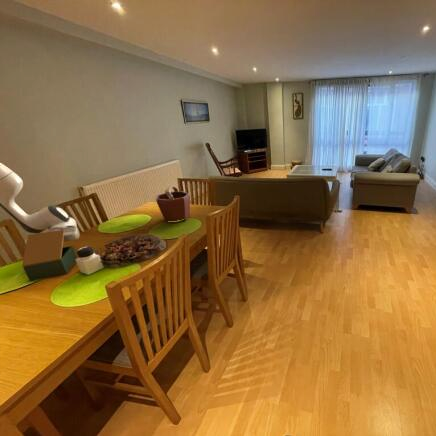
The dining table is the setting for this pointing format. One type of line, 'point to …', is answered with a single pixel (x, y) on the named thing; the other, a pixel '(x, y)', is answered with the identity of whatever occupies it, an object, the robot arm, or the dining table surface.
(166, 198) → the bucket
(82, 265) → the medicine bottle
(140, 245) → the food dish
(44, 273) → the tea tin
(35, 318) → the dining table surface
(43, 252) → the box lid
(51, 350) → the dining table surface
